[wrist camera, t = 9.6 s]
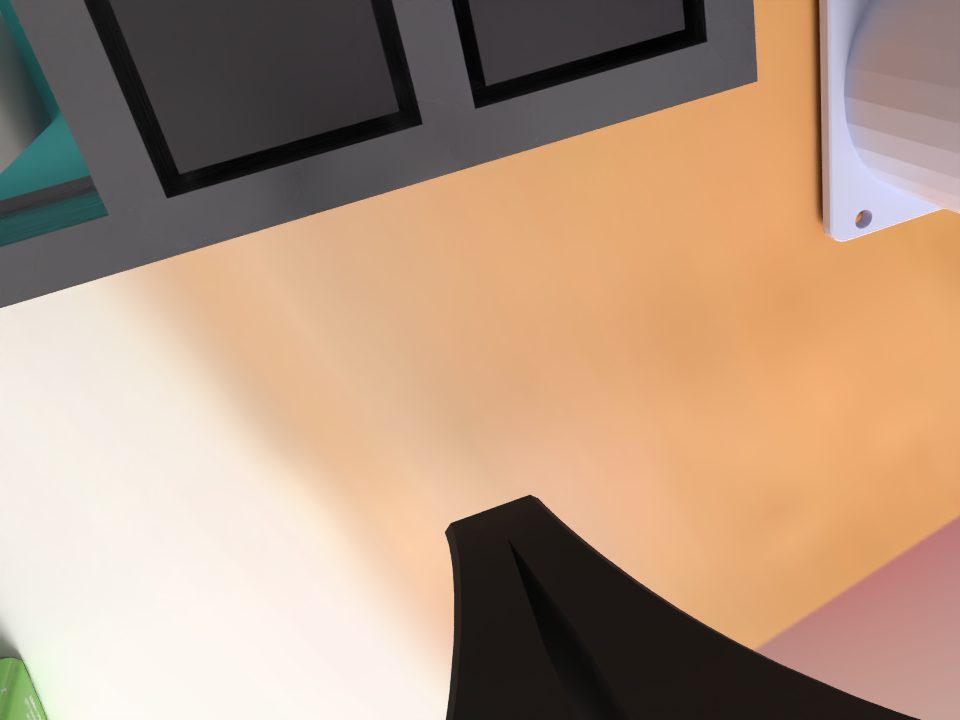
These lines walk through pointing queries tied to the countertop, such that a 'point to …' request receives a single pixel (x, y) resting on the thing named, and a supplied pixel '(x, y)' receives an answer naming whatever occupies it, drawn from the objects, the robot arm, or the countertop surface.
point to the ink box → (17, 693)
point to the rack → (313, 108)
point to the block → (17, 102)
